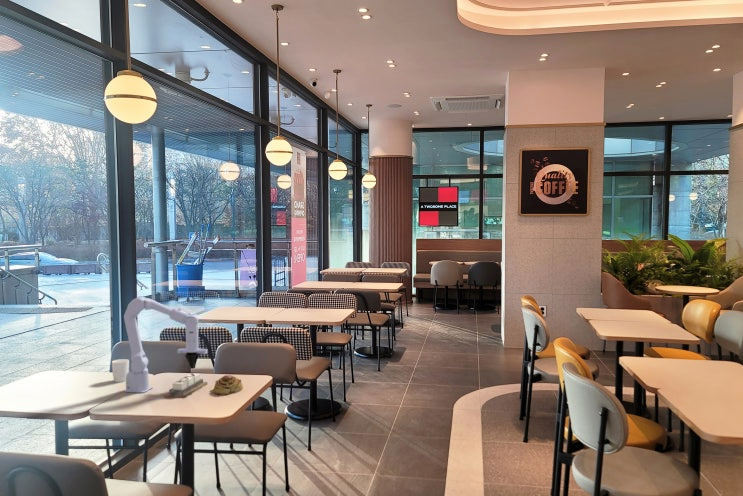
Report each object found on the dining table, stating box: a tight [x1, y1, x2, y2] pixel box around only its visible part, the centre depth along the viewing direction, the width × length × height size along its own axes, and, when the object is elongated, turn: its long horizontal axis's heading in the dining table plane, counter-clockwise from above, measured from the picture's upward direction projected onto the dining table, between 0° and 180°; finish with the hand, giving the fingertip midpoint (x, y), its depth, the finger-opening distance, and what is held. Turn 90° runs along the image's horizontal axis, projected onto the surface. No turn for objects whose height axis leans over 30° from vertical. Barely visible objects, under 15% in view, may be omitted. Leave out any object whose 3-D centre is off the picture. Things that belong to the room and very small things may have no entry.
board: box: [164, 378, 208, 399], centre depth 249 cm, size 10×21×3 cm, turn 170°
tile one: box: [172, 380, 187, 390], centre depth 243 cm, size 5×5×3 cm
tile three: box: [185, 372, 201, 383], centre depth 255 cm, size 5×5×3 cm
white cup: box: [111, 358, 130, 383], centre depth 267 cm, size 8×8×10 cm
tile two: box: [179, 376, 194, 386], centre depth 249 cm, size 5×5×3 cm
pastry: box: [213, 374, 244, 396], centre depth 249 cm, size 13×15×8 cm
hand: (192, 368), depth 255 cm, fingers closed
